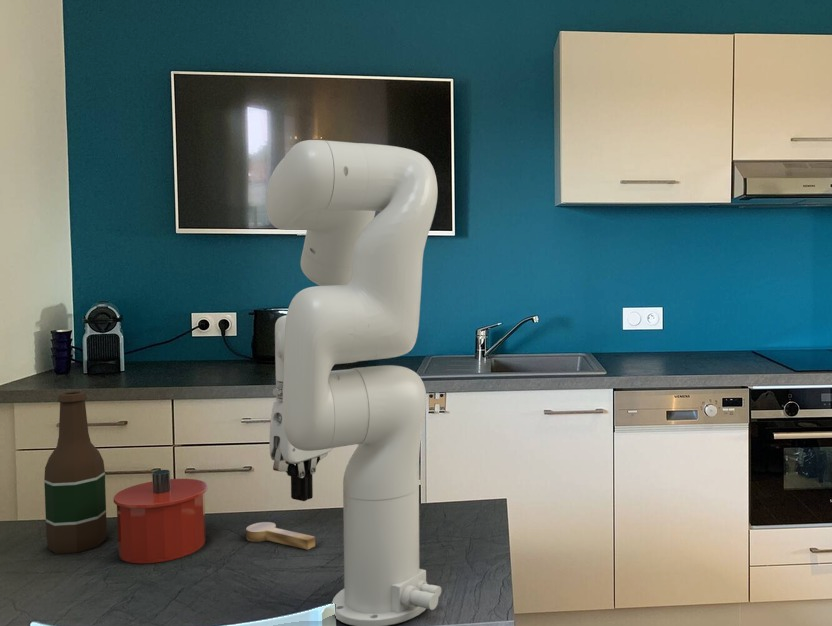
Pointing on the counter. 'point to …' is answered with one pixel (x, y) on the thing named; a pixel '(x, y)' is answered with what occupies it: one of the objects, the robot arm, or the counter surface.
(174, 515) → the pot
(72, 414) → the beer bottle
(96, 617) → the counter surface
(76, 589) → the counter surface
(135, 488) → the pot lid
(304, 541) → the spoon
